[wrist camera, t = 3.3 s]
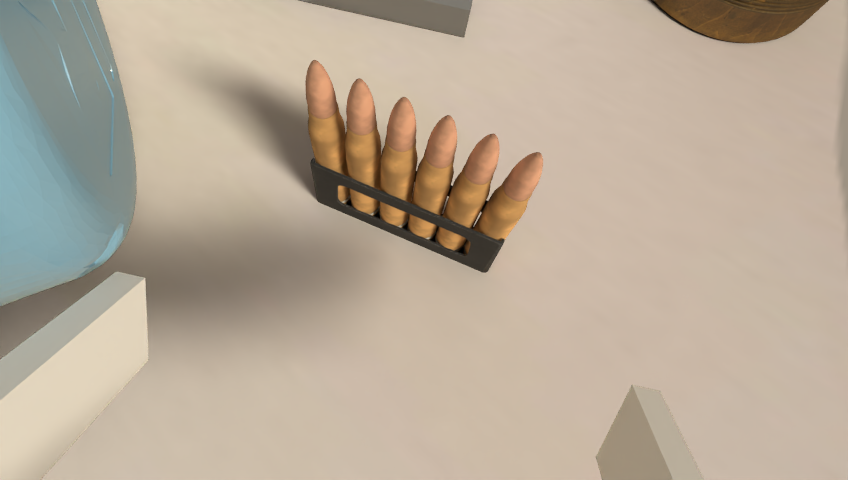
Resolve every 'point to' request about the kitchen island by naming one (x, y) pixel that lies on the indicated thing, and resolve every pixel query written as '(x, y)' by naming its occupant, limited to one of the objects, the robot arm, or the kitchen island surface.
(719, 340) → the kitchen island surface
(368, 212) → the ammunition clip
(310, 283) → the kitchen island surface
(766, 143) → the kitchen island surface
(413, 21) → the tray
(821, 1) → the wooden container
